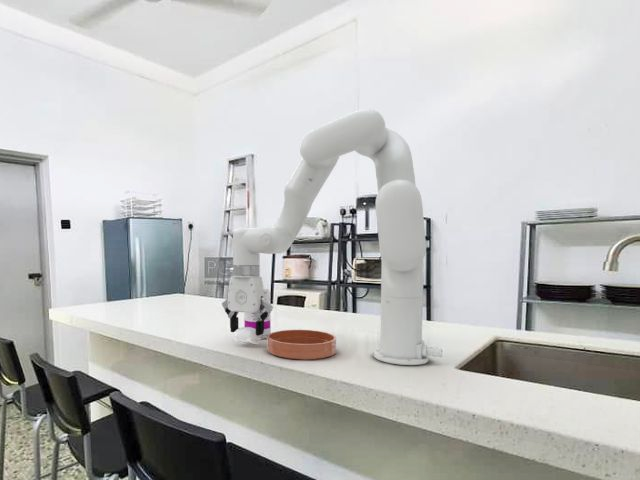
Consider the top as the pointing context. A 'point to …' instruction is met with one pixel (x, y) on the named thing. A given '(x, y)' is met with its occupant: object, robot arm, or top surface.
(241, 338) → the garlic
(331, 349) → the bowl
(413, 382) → the top surface
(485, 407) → the top surface
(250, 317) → the supplement can
